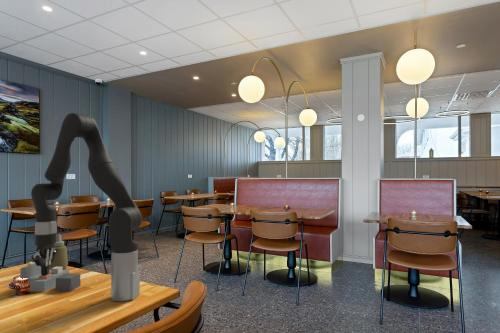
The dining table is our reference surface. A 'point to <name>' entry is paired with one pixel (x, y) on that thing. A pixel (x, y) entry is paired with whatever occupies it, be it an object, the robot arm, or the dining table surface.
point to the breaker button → (45, 276)
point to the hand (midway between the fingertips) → (45, 274)
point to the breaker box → (34, 273)
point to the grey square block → (67, 282)
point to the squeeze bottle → (60, 255)
